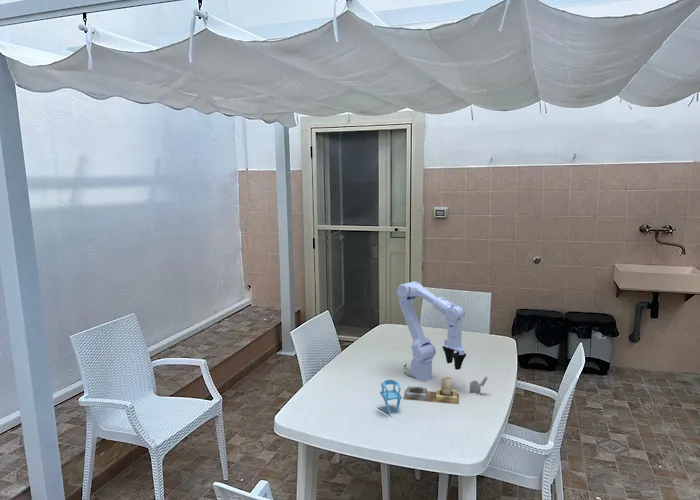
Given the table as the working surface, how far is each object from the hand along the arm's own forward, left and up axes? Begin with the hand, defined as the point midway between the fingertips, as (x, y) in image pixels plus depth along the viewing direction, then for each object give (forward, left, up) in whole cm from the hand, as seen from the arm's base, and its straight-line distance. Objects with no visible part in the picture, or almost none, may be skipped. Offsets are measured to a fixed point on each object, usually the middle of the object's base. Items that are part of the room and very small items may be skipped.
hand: (453, 366), depth 211 cm
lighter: (+9, +6, -11) cm, 15 cm away
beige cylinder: (+6, -10, -9) cm, 15 cm away
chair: (+2, -35, -11) cm, 37 cm away
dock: (+2, -14, -10) cm, 18 cm away
